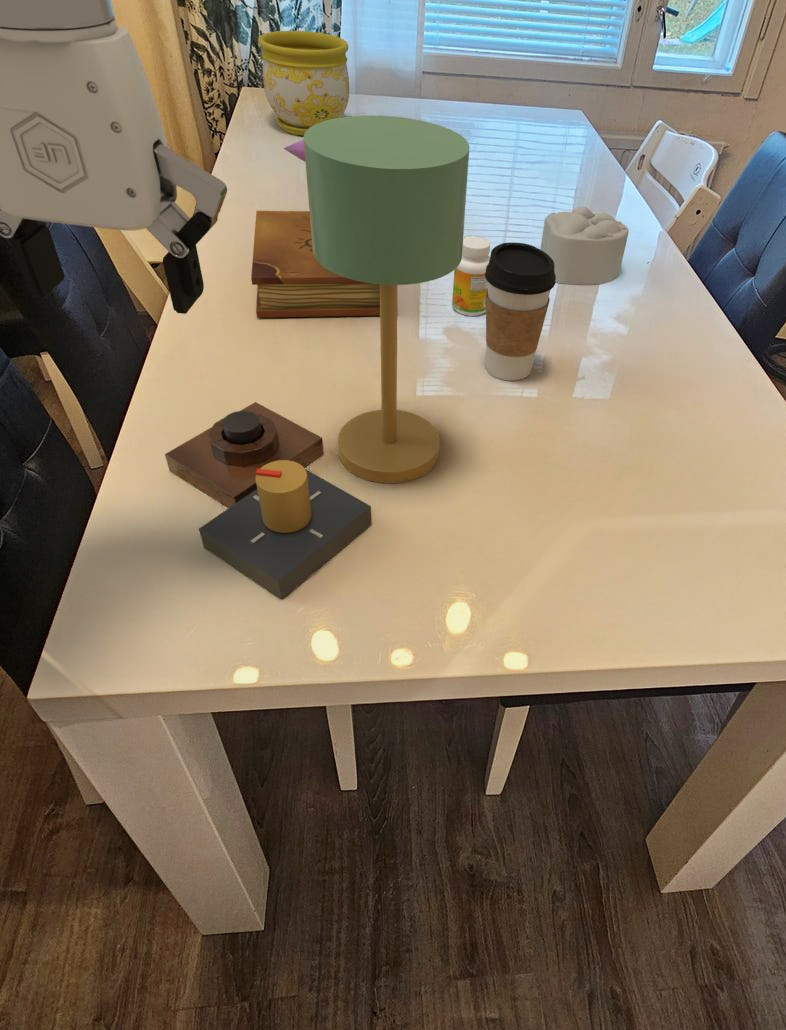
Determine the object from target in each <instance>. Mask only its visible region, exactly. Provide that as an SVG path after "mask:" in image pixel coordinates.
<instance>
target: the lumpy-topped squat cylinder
mask: <svg viewBox="0 0 786 1030" xmlns="http://www.w3.org/2000/svg"><path fill="white" fill-rule="evenodd" d="M628 236H629V228H628V226H627V225H625V224H624V223H623V222H622V221H619V220H616V219H615V218H614V217H613V216H612V215H611V214H609V213H607V212H599V213H594V212H593V211H592V210H591V209H590V208H588V207H587V206H578V207H575V208H574V209H573V210H572V211H571V212H570V211H558V212H554V213H551V214H548V215H547V216H546V217H544V223H543V229H542V236H541V243H540V248H539V249H540V250H542V251H543V252H545V253H546V254H548V255H549V256H550V257H551V258H552V260H553V261H554V273H555V275H556V280H555V281H556V282H555V283H558V284H563V285H577V286H579V285H581V286H592V285H593V286H594V285H595V286H596V285H602V284H606V283H609V282H613V281H614V280H616V279H617V278H618V277H619V276H620V271H621V268H622V264H623V263H622V262H623V258H624V255H625V250H626V245H627V242H628Z"/></svg>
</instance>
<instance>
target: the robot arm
mask: <svg viewBox="0 0 786 1030" xmlns="http://www.w3.org/2000/svg"><path fill="white" fill-rule="evenodd" d="M177 186H178V187H179V188H181V189H182V190H185V191H186V192H188V193H189V194H190V195H192V196H193V197H194V199H195V206H194V211H193V214H192V216H191V217H190V216H189V215H188V214H187V213H186V212H185V211H184V210H183V209H182V208H181V207H180V206H179V205H178V203H176V201H177V199H178V187H177ZM227 193H228V188H227V185H226V183H225V182H224V181H223V180H221V179H219V178H218V177H216V176H215V175H214V174H212V173H210V172H208V171H206V170H204V168H202V167H200V166H198V165H197V164H195V163H193V162H192V161H190V160H188V159H187V158H185V157H183V156H182V155H180V154H178V153H177V152H175V151H173V150H172V149H171V148H169V144H168V140H167V136H166V133H165V130H164V126H163V123H162V119H161V115H160V113H159V109H158V105H157V102H156V99H155V96H154V93H153V90H152V88H151V84H150V81H149V79H148V76H147V73H146V71H145V68H144V65H143V63H142V60H141V57H140V55H139V53H138V50H137V48H136V45H135V43H134V41H133V38H132V36H131V34H130V32H129V29H128V28H127V27H124V26H118V25H117V21H116V18H115V11H114V8H113V3H112V0H0V236H1V237H2V238H5V239H9V242H10V245H11V247H12V250H13V253H14V256H15V258H16V260H17V264H18V266H19V268H20V271H21V274H22V275H23V277H24V278H25V280H26V283H27V287H28V288H29V291H30V294H31V295H32V296H33V297H36V298H44V297H46V296H48V294H50V293H51V292H52V291H53V290H54V289H55V288H56V287H58V285H60V284H61V283H62V282H64V280H65V278H66V277H65V276H66V274H65V272H64V269H63V266H62V263H61V260H60V257H59V254H58V251H57V247H56V246H55V245H56V244H55V242H54V239H53V236H52V234H51V230H50V228H49V226H47V223H53V224H55V223H56V224H62V225H63V224H65V225H69V226H78V227H79V226H80V227H89V228H97V229H107V230H115V231H117V230H118V231H128V232H129V231H131V232H132V231H133V232H135V231H141V230H144V229H146V230H147V231H148V232H149V234H151V235H152V236H153V237H154V238H155V239H156V241H158V242H159V243H160V244H161V245H162V246H163V247H164V248H165V250H166V251H167V252H166V254H165V255H163V258H162V266H163V269H164V274H165V279H166V282H167V287H168V291H169V295H170V300H171V304H172V308H173V311H175V312H176V313H177V314H183V315H187V314H188V312H189V311H190V310H191V308H192V307H193V306H194V304H195V303H196V302H197V301H198V299H199V298H200V297H201V296H202V295H203V292H204V288H205V287H204V284H205V283H204V278H203V273H202V268H201V264H200V259H199V253H198V248H197V244H199V242H200V241H202V239H203V238H204V237H205V236H206V235H207V234H208V233H209V231H210V230H211V229H212V228H213V227H214V226H215V224H217V222H218V219H219V213H221V209H222V207H223V204H224V201H225V199H226V196H227ZM46 222H47V223H46Z"/></svg>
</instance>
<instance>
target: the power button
mask: <svg viewBox="0 0 786 1030" xmlns="http://www.w3.org/2000/svg"><path fill="white" fill-rule="evenodd" d="M223 418H224V419H223ZM223 418H222V419H223V422H222V425H223V429H224V434H225V439H226V440H227V441H228V442H229V443H230V444H237V445H245V444H250V443H254V442H256V441H257V440H259V439H260V438H261V436H262V430H261V424H260V419H259V417H258V415H256V414H255V413H253V412H249V411H241V410H238V411H234V412H231V413H229V414H227V415H226V416H224V417H223Z"/></svg>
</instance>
